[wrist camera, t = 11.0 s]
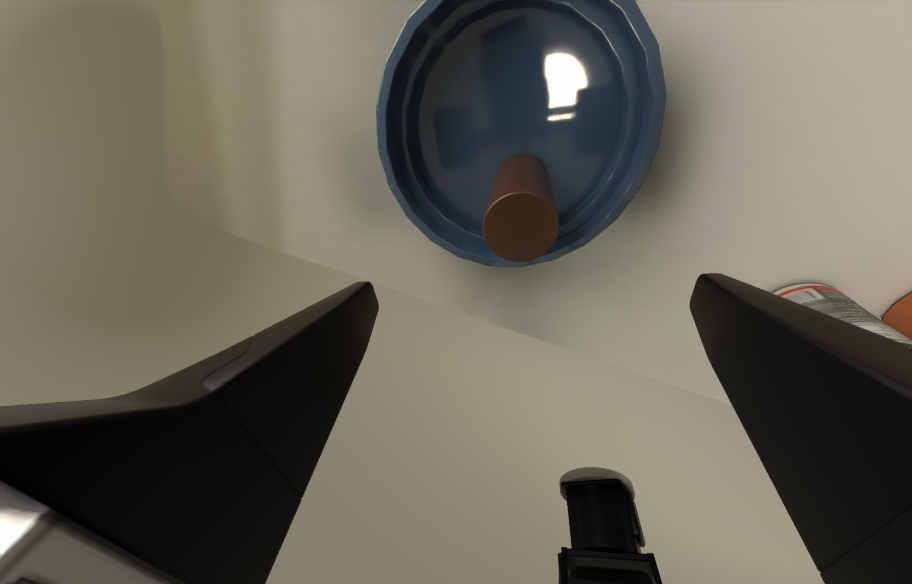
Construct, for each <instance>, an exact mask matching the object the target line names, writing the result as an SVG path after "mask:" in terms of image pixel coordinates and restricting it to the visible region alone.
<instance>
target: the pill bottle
mask: <svg viewBox="0 0 912 584" xmlns="http://www.w3.org/2000/svg"><path fill="white" fill-rule="evenodd" d="M773 294H775V295H778V296H781V297H783V298H786V299H788V300H791V301H794V302H796V303H799V304H801V305H804V306H807V307H809V308H812V309H814V310H817V311H820V312H822V313H825V314H827V315H830V316H833V317H835V318H838V319H840V320H843V321H846V322H848V323H851V324H853V325H856V326H859V327H861V328H864V329H867V330H869V331H872V332H874V333H877V334H880V335H882V336H885V337H887V338H890V339H893V340H895V341H898V342H900V343H903V344H906V345H908V346H909V348H912V341H911V340H910V339H908V338H907V337H905V336H904V335H902V334H901V333H899V332H898V331H896V330H894V329H893V328H892V327H890V326H889V325H887V324H886V323H884V322H883V321H881V320H880V319H878V318H877V317H875V316H874V315H873V314H871V313H870V312H868V311H867V310H865V309H864V308H863V307H861V306H860V305H858V304H857V303H855V302H854V301H853V300H851V299H850V298H848V297H847V296H845V295H844V294H843V293H841V292H839V291H838V290H836V289H834V288H832V287H829V286H826V285H822V284H811V283H807V284H798V285H793V286H789V287H786V288H783V289H781V290H778V291H776V292H774V293H773Z"/></svg>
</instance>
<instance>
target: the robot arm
mask: <svg viewBox="0 0 912 584" xmlns="http://www.w3.org/2000/svg"><path fill="white" fill-rule="evenodd" d="M378 308H379V305H378V301H377V298H376V294H375V292H374V288H373V286H372V284H371V283H370V282H356V283H354V284H352V285H350V286H348V287H346V288H344V289H343V290H341V291H339V292H337V293H335V294H333V295H331V296H329V297H327V298H325V299H323V300H321V301H319V302H317V303H316V304H313V305H311V306H309V307H307V308H306V309H304V310H302V311H300V312H298V313H296V314H294V315H292V316H290V317H288V318H286V319H284V320H282V321H280V322H278V323H276V324H274V325H272V326H271V327H269V328H267V329H265V330H263V331H261V332H259V333H257V334H255V335H254V336H251V337H249V338H247V339H245V340H243V341H241V342H239V343H237V344H235V345H233V346H231V347H229V348H227V349H225V350H223V351H221V352H219V353H217V354H215V355H213V356H211V357H208V358H206V359H204V360H202V361H200V362H198V363H196V364H194V365H192V366H189V367H187V368H185V369H183V370H181V371H178V372H176V373H174V374H172V375H170V376H167V377H165V378H163V379H161V380H159V381H157V382H154V383H152V384H150V385H148V386H146V387H143V388H141V389H138V390H136V391H134V392H131V393H127V394H124V395H120V396H116V397H111V398H105V399H96V400H83V401H71V402H56V403H42V404H29V405H16V406H1V407H0V584H265V583H266V581H267V578H268V576H269V574H270V571H271V569H272V567H273V564H274V562H275V560H276V558H277V555H278V553H279V550H280V548H281V546H282V544H283V541H284V539H285V537H286V534H287V532H288V530H289V528H290V525H291V523H292V520H293V518H294V516H295V514H296V511H297V509H298V507H299V505H300V502H301V498H302V497H303V495H304V492H305V490H306V488H307V485H308V483H309V481H310V479H311V476H312V474H313V471H314V470H315V467H316V465H317V463H318V460H319V458H320V456H321V453H322V451H323V449H324V446H325V444H326V442H327V440H328V437H329V435H330V432H331V430H332V428H333V426H334V423H335V421H336V419H337V417H338V414H339V412H340V409H341V407H342V405H343V403H344V400H345V398H346V395H347V393H348V391H349V389H350V387H351V384H352V382H353V380H354V377H355V375H356V373H357V370H358V368H359V366H360V363H361V361H362V359H363V356H364V354H365V351H366V349H367V346H368V343H369V340H370V336H371V333H372V330H373V326H374V323H375V320H376V317H377V313H378ZM690 310H691V313H692V316H693V319H694V321H695V324H696V327H697V330H698V332H699V335H700V338H701V341H702V343H703V346H704V349H705V352H706V354H707V357H708V359H709V361H710V363H711V365H712V367H713V369H714V371H715V373H716V375H717V377H718V379H719V381H720V383H721V385H722V386H723V388H724V390H725V392H726V394H727V396H728V398H729V400H730V402H731V404H732V406H733V408H734V409H735V411H736V413H737V415H738V417H739V419H740V421H741V423H742V425H743V427H744V429H745V431H746V433H747V435H748V436H749V438H750V440H751V442H752V444H753V446H754V448H755V450H756V452H757V454H758V456H759V457H760V459H761V461H762V463H763V465H764V467H765V469H766V471H767V473H768V475H769V477H770V479H771V480H772V482H773V484H774V486H775V488H776V490H777V492H778V494H779V496H780V498H781V500H782V502H783V504H784V506H785V507H786V509H787V511H788V513H789V515H790V517H791V519H792V521H793V523H794V525H795V527H796V528H797V531H798V532H799V534H800V536H801V538H802V540H803V542H804V544H805V546H806V548H807V550H808V552H809V554H810V555H811V557H812V559H813V561H814V563H815V565H816V567H817V569H818V570H819V571H820V572H821V573H820V575H821V577H822V579H823V581H824V583H825V584H912V348H909V346H908V345H906V344H903V343H900V342H898V341H895V340H893V339H890V338H887V337H885V336H882V335H880V334H877V333H874V332H872V331H869V330H867V329H864V328H861V327H859V326H856V325H853V324H851V323H848V322H846V321H843V320H840V319H838V318H835V317H833V316H830V315H827V314H825V313H822V312H820V311H817V310H814V309H812V308H809V307H807V306H804V305H801V304H799V303H796V302H794V301H791V300H788V299H786V298H783V297H781V296H778V295H775V294H773V293H770V292H767V291H765V290H762V289H760V288H757V287H754V286H752V285H749V284H747V283H744V282H741V281H739V280H736V279H734V278H731V277H728V276H726V275H723V274H719V273H711V274H701V275H700V276H699V277H698V278H697V281H696V284H695V287H694V290H693V293H692V296H691V299H690ZM561 488H562V490H563V491H564V493H565V494H566V496H567V506H568V515H569V526H570V536H571V546H572V549H568V548H567V547H561V550H562V552H561V553H559V554H558V565H559V584H662V581H661V578H660V574H659V571H658V568H657V564H656V561H655V558H654V554H653V553H647V554H642V553H641V549H640V547H644V546H645V540H644V536H643V533H642V528H641V525H640V521H639V517H638V513H637V509H636V505H635V502H634V500H633V498H632V496H631V494H630V493H629V492H626V490H625V488H624V486H623V484H622V481H621V480H620V479H617V478H614V479H599V480H584V481H569V482H562V483H561Z"/></svg>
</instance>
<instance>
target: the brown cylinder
mask: <svg viewBox="0 0 912 584" xmlns="http://www.w3.org/2000/svg"><path fill="white" fill-rule="evenodd" d="M482 231H483V236H484V240H485V242H486V244H487V245H488V247H489V248H490V250H491V251H492V252H493V253H495V254H496V255H497V256H499V257H501V258H503V259H505V260H508V261H512V262H526V261H531V260H534V259H536V258H538V257H540V256H542V255H543V254H544V253H546V252H547V251H548V250H549V249H550V248H551V247H552V245H553V244H554V242H555V240H556V238H557V235H558V231H559V219H558V215H557V211H556V206H555V202H554V198H553V194H552V189H551V185H550V181H549V177H548V172H547V169H546V167H545V165H544V163H543V162H542V161H541V160H540V159H539V158H537V157H536V156H534V155H531V154H527V153H520V154H515V155H512V156H510V157H508V158H507V159H506V160H504V161H503V162H502V164H501V165H500V166H499V168H498V170H497V172H496V175H495V179H494V182H493V186H492V190H491V193H490V197H489V201H488V204H487V208H486V212H485V215H484V219H483V224H482Z"/></svg>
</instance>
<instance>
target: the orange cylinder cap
mask: <svg viewBox="0 0 912 584" xmlns="http://www.w3.org/2000/svg"><path fill="white" fill-rule="evenodd" d="M882 321H883V322H884V323H886V324H887V325H889V326H890V327H892V328H893V329H894V330H896V331H898V332H899V333H901V334H902V335H904V336H905V337H907V338H908V339H910V340H911V341H912V293H911V294H909V295H907V296H906V297H904V298H902V299H901V300H900V301H898V302H897V303H896V304H894V305H893V306H892V307H891V308H890V309H889V310H888V311H887V313H886V314H885V316H884V318H883V320H882Z"/></svg>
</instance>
